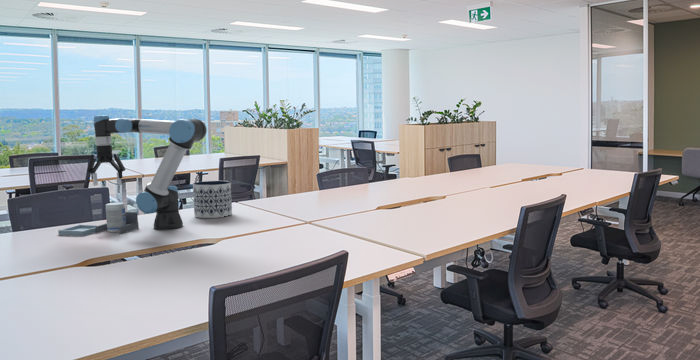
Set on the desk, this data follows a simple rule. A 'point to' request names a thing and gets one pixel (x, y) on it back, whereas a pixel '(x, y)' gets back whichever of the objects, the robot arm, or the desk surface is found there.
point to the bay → (130, 225)
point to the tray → (78, 230)
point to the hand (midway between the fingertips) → (107, 185)
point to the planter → (212, 199)
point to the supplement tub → (115, 216)
